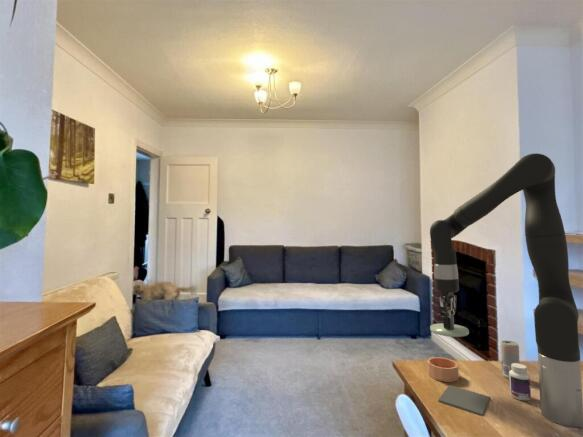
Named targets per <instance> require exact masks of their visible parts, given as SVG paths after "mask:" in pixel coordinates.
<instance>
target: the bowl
mask: <svg viewBox="0 0 583 437" xmlns="http://www.w3.org/2000/svg"><path fill="white" fill-rule="evenodd" d="M426 367H427V374H428V376H429V377H430V378H431V377H432V378H431V379H433V378H434V380H435V379H436V381H438V380H439V382H442V381H443V382H442V383H455V382H457V381H459V375H460V374H459V373H460V372H459V364H458V363H457V361H455V360H453V359H450V358H446V357H442V356H441V357H438V356H437V357H436V356H434V357H429V358H428V359H427V366H426ZM454 381H455V382H454Z"/></svg>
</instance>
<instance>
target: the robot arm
mask: <svg viewBox="0 0 583 437" xmlns="http://www.w3.org/2000/svg"><path fill="white" fill-rule="evenodd" d="M521 191H522V192H523V196H524V201H525V215H524V217H525V218H524V236H525V246H526V250H527V253H528V257H529V258H528V259H529V260H530V263H531V265H532V269H533V270H534V274H535V276H536V279H537V280H536V281H537V287H538V304H537V305H536V307H535V309H534V313H533V315H534V316H533V317H534V318H533V319H534V333H535V334H534V335H535V342H536V346H537V347H536V348H537V364H538V367H537V368H538V384H539V402H540V403H539V407H540V413H541V415H542V416H543V417H545V418H546V419H547V420H549V421H552V422H553V423H556V424H559V425H561V426H566V427H572V428H576V427H577V428H581V429H583V386H582V371H581V369H582V368H581V366H582V365H581V350H580V345H579V327H578V321H579V316H580V315H579V314H580V313H579V311H578V307H577V305H576V302H575V298H574V295H573V292H572V288H571V283H570V277H569V275H570V273H569V271H570V270H569V269H570V268H569V267H570V266H569V264H570V263H569V252H568V245H567V244H568V242H567V236H566V232H565V227H564V223H563V219H562V216H561V212H560V209H559V206H558V203H557V196H556V166H555V164H554V162H553V161H552V159H551V158H549V157H548V156H547V155H545V154H542V153H529V154H527V155H525V156H524V155H523V157H521V158H520V159H519V160H518V161H517V162H516V163H515V164H514V165H512V166H511V167H510V168H509V169H508V170H507V171H506V172H505V173H504V174H502V176H500V177H499V178H498V179H497V180H496V181H495V182H493V183H491V185H489V186H487V187H486V188H485V189H483V190H482V191H481V192H479V193H478V194H476V195H475V196H473V197H471V198H470V199H469V200H467V201H466V202H464V203H463V204H461V205H459V207H457V208H456V209H454V211H453V213H452V214H451V215H449V216H448V217H447V218H445V219H440V220H436V221H434V222H433V223H432V224H431V226H430V228H429V236H430V237H429V238H430V242H431V246H432V248H433V249H432V250H433V252H434V253H433V259H434V266H433V274H434V289H435V290H436V291H437V292H440V296H439V300H437V306H438V310H439V311H438V312H439V316H440V317H441V318H442V321H443V325H444V328H447V329H450V328H451V318H450V317H451V313H453V317H454V318H455V316H454V315H455V314H456V312H457V299H458V297H457V295H456V294H454V293H457V292H459V291H460V285H459V284H460V283H459V270H458V263H457V262H458V261H457V253H456V249H455V248H454V247H453V243H452V242H453V241H452V240H453V239H454V238H455V237H456V236H458V235H459V234H461V233H462V232H463V231H465V229H467V228H468V227H470V226H472V225H473V224H475V223H476V222H478V221H479V220H481V219H483V218H484V217H486V216H488V215H489V214H490V213H492V211H494V210H496V209H497V208H498V206H499V205H501V204H502V203H503V202H505V201H507V199H509V198H510V197H512V196H514V195H516V194H517V193H519V192H521Z"/></svg>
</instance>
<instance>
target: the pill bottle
mask: <svg viewBox="0 0 583 437" xmlns="http://www.w3.org/2000/svg"><path fill="white" fill-rule="evenodd" d="M511 369H512V370H510V371H509V381H508V382H509V394H510V396H511V397H513V398H514V399H515V400H519V401H522V402H523V401H525V402H526V401H530V400H531V398H532V393H531V376H530V374H529V373H527V372H528V368H527V365H525V364H522V363H520V364H518V363H512V364H511Z"/></svg>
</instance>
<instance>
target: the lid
mask: <svg viewBox="0 0 583 437" xmlns="http://www.w3.org/2000/svg"><path fill="white" fill-rule="evenodd" d="M450 318H451V328H450V329H447V328H444V325H443V323H442V322H441V323H433V324H431V325H430V326H429V329H430V332H432V333H434V334H435V335H439V336H444V337H451V338H453V337H454V338H461V337H467V336H468V335H469V334H470V331H469V329H468V327H466V326H463V325H459V324H455V316H454V317H453V313H451V317H450Z"/></svg>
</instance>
